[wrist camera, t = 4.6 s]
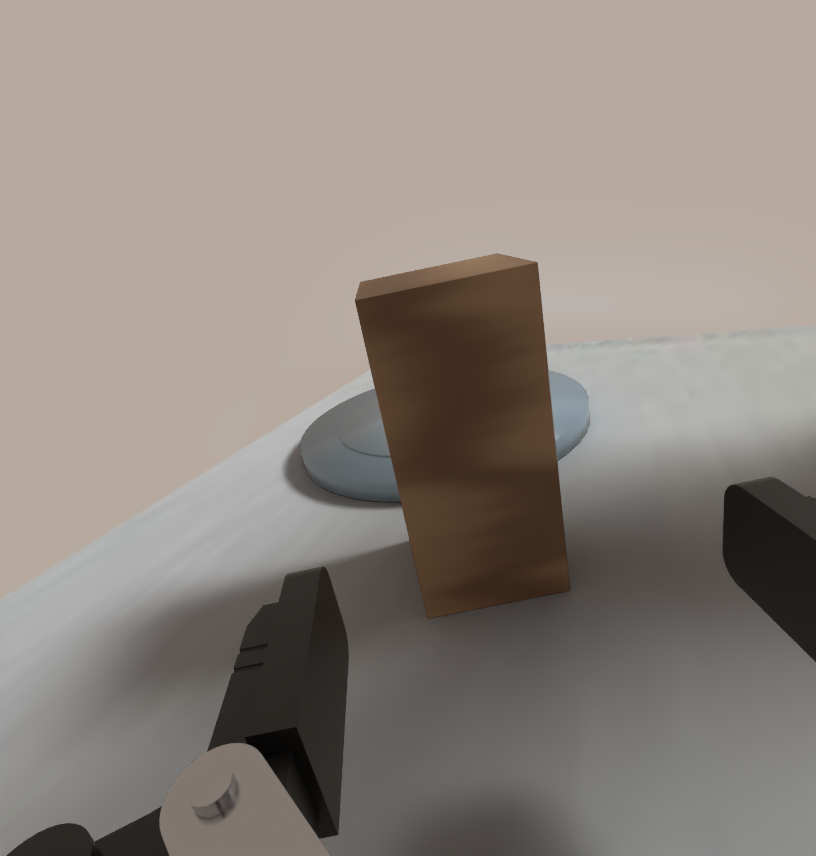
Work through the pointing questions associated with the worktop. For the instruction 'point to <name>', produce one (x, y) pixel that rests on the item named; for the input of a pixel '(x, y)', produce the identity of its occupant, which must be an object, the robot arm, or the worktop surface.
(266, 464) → the worktop surface
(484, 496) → the walnut block
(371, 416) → the slate plate
